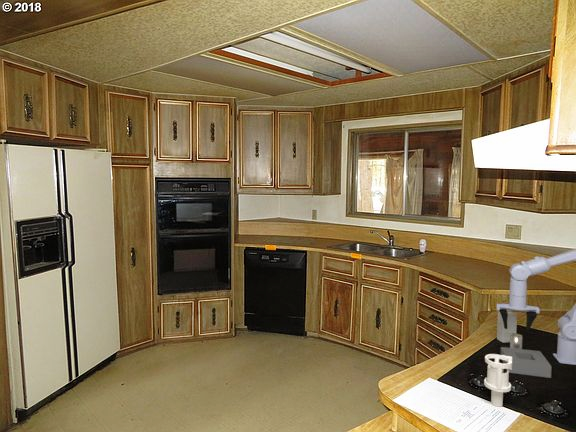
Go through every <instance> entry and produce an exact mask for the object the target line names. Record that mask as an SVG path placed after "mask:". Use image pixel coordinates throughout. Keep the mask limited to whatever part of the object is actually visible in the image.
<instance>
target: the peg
mask: <svg viewBox="0 0 576 432" xmlns="http://www.w3.org/2000/svg"><path fill="white" fill-rule="evenodd" d="M509 348H515V349H523V335H522V334H519V333H517V332H516V333H511V335H510V342H509Z"/></svg>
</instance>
